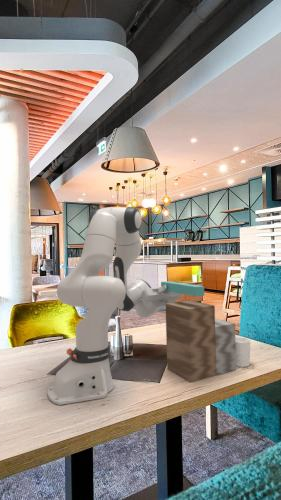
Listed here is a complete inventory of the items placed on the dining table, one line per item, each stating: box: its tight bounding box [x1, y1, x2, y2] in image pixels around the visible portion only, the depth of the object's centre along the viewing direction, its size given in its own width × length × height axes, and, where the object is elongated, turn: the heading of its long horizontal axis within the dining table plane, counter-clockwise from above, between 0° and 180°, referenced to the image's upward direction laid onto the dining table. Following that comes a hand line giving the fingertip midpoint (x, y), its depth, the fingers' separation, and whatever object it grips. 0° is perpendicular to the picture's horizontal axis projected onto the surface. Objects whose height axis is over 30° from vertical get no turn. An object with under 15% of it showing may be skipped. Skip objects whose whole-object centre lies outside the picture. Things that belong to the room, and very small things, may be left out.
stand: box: [165, 300, 237, 383], centre depth 126 cm, size 22×15×26 cm
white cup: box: [235, 336, 251, 368], centre depth 131 cm, size 8×8×10 cm
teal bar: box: [160, 280, 205, 298], centre depth 129 cm, size 4×24×4 cm, turn 29°
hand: (171, 285), depth 134 cm, fingers closed on teal bar, 3 cm apart
